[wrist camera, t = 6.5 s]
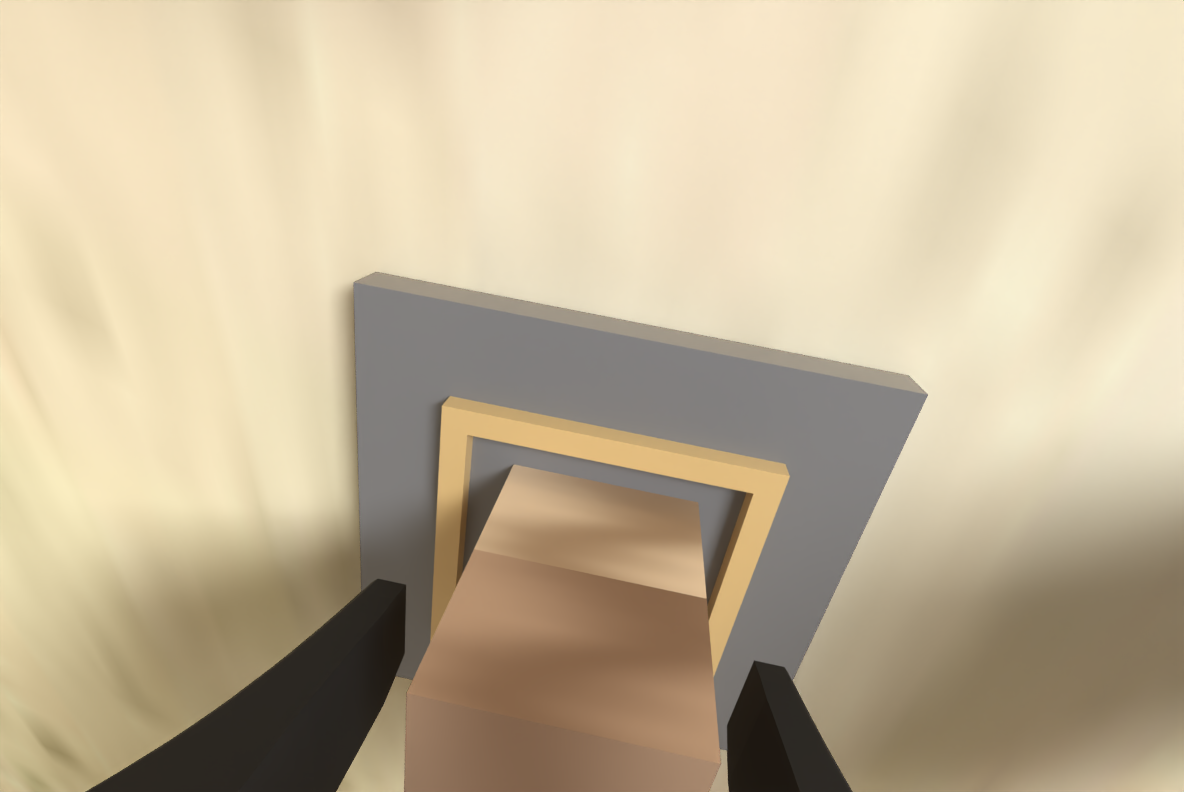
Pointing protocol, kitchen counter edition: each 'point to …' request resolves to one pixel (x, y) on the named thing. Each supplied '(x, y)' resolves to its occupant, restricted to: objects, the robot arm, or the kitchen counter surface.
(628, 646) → the tan wooden block
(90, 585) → the kitchen counter surface
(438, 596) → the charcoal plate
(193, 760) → the robot arm
